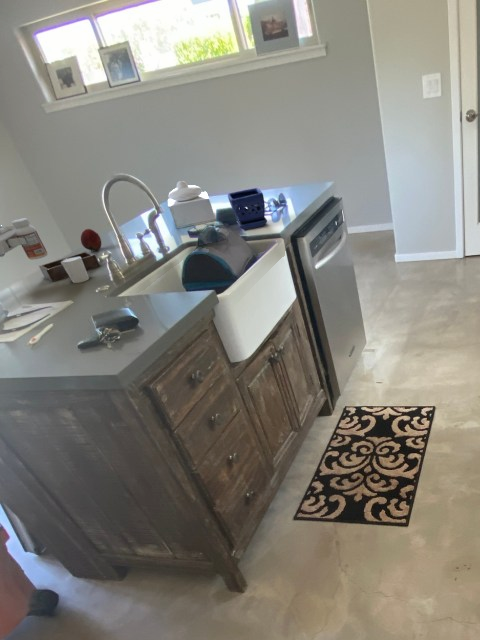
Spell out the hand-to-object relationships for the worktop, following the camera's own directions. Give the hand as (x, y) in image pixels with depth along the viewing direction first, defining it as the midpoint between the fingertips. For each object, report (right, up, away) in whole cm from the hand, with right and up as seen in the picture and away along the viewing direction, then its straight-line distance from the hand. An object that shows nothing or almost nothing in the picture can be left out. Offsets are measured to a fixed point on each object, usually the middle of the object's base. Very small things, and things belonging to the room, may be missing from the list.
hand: (31, 236), depth 168 cm
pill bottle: (0, -5, +4) cm, 6 cm away
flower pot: (+61, +29, +47) cm, 82 cm away
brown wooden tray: (-2, +1, +26) cm, 27 cm away
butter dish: (+29, +43, +67) cm, 84 cm away
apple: (-5, +19, +47) cm, 51 cm away
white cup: (+6, -7, +17) cm, 19 cm away
